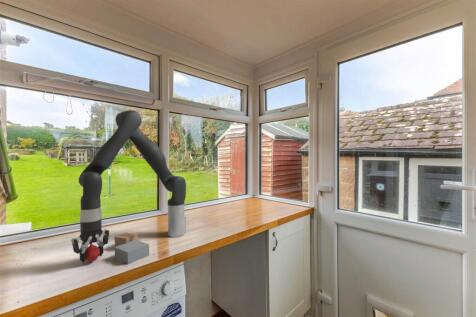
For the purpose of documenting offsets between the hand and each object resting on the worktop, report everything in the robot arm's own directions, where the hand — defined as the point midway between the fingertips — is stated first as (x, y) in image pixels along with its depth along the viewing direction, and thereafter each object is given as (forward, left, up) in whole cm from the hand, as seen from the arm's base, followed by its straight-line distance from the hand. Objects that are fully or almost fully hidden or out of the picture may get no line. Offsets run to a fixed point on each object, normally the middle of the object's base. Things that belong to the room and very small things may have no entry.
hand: (91, 258), depth 94 cm
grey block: (-12, +10, -2) cm, 16 cm away
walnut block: (-17, -3, -2) cm, 17 cm away
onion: (0, 0, -2) cm, 2 cm away
